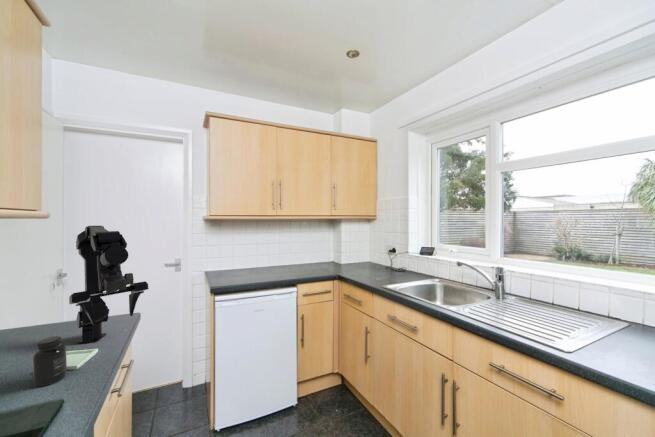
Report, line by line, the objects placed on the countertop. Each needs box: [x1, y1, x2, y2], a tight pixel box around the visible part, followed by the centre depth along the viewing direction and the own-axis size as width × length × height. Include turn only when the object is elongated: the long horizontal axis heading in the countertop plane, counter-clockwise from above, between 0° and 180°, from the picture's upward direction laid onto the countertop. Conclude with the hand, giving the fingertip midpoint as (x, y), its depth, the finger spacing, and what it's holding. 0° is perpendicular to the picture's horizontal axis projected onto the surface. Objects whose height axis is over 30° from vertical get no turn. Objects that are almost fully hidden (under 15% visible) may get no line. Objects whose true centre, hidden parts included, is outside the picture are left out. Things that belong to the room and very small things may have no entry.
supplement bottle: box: [32, 335, 68, 388], centre depth 79 cm, size 7×7×12 cm
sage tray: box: [66, 348, 99, 371], centre depth 88 cm, size 11×11×1 cm
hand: (113, 320), depth 83 cm, fingers open, 9 cm apart
